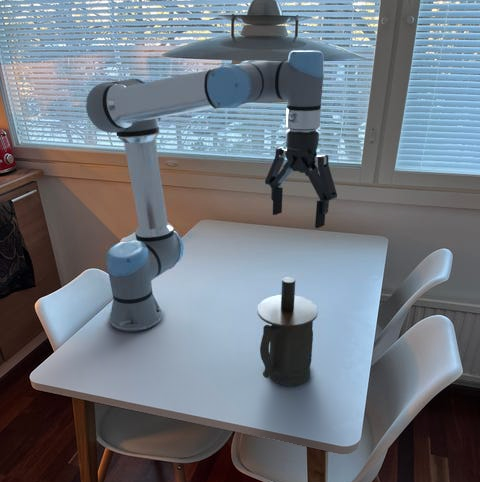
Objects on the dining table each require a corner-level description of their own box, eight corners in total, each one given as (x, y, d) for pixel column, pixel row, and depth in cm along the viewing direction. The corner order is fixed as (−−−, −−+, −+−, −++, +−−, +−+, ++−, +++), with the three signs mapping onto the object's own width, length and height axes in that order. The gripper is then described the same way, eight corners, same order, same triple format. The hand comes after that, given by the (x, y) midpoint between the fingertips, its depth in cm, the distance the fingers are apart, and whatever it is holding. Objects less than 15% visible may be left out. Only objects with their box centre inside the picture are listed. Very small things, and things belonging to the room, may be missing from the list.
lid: (244, 311, 109) (244, 280, 105) (284, 291, 118) (285, 260, 113) (290, 334, 101) (292, 301, 97) (330, 310, 109) (333, 279, 105)
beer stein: (285, 354, 128) (285, 291, 117) (319, 369, 122) (323, 304, 111) (250, 385, 119) (246, 320, 107) (286, 403, 113) (285, 336, 101)
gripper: (251, 125, 112) (251, 212, 123) (338, 139, 97) (329, 236, 108) (272, 121, 116) (270, 205, 127) (359, 133, 101) (348, 228, 112)
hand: (297, 219), depth 118 cm, fingers open, 13 cm apart
